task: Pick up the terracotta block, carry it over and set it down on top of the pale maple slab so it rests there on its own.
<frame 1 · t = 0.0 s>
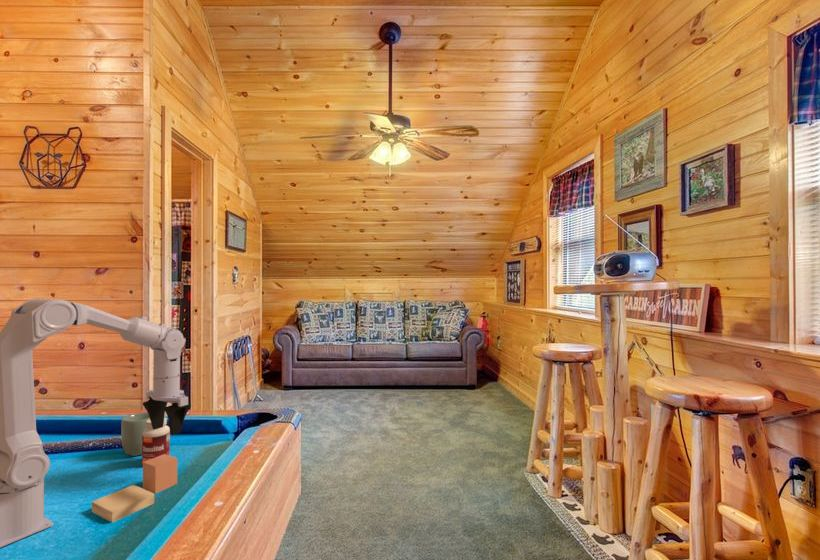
hand: (166, 430, 102), 10 cm above the table, tool pointing down, fingers open, 7 cm apart
cup: (138, 453, 113), on the table
terracotta block: (160, 486, 94), on the table
pill bottle: (156, 462, 107), on the table
maple slab: (123, 509, 85), on the table
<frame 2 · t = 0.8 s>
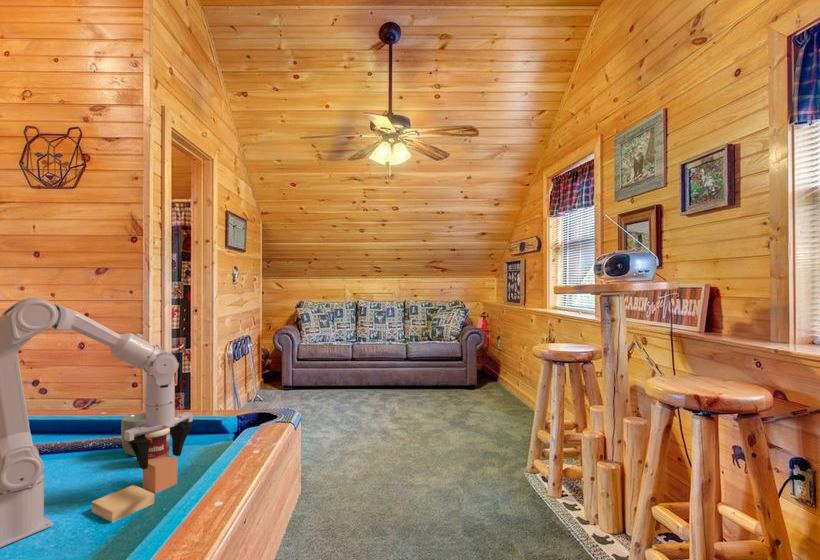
hand: (160, 461, 95), 6 cm above the table, tool pointing down, fingers open, 7 cm apart
nothing on the table moved.
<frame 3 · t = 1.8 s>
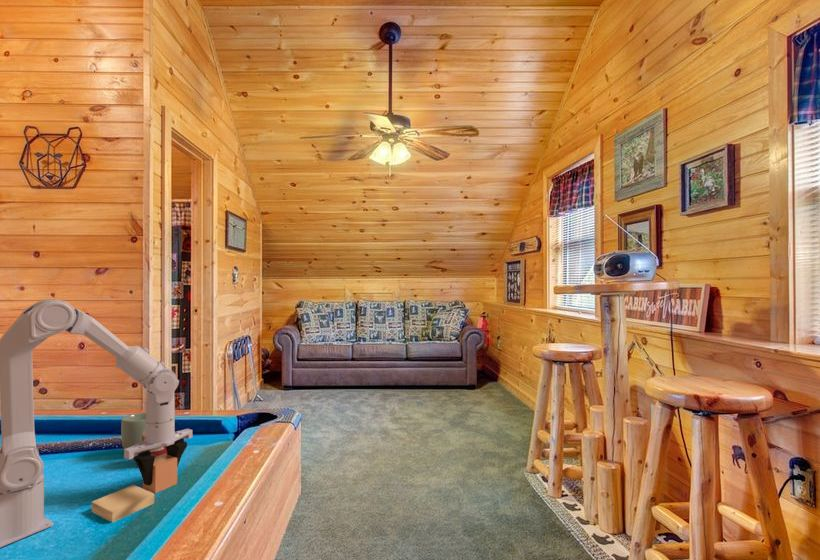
hand: (160, 478, 95), 2 cm above the table, tool pointing down, fingers closed on terracotta block, 5 cm apart
terracotta block: (160, 485, 94), on the table, touching gripper
everything else where it was.
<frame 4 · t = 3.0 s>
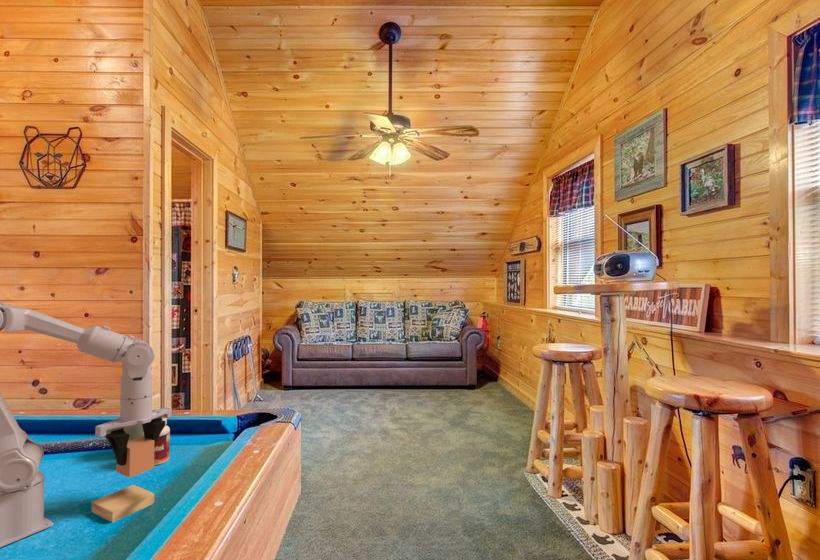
hand: (135, 459, 88), 9 cm above the table, tool pointing down, fingers closed on terracotta block, 5 cm apart
terracotta block: (135, 470, 88), point 6 cm above the table, touching gripper
everything else where it was.
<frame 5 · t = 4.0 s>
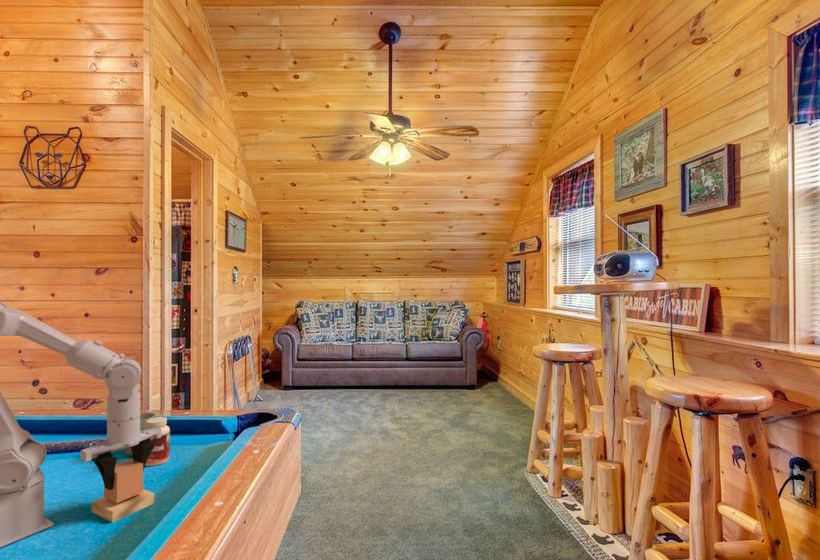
hand: (123, 482, 85), 5 cm above the table, tool pointing down, fingers closed on terracotta block, 5 cm apart
terracotta block: (123, 494, 85), point 3 cm above the table, touching gripper
everything else where it was.
when the fingers open (5 cm above the table, at t = 4.4 s): terracotta block stays where it is, resting on maple slab.
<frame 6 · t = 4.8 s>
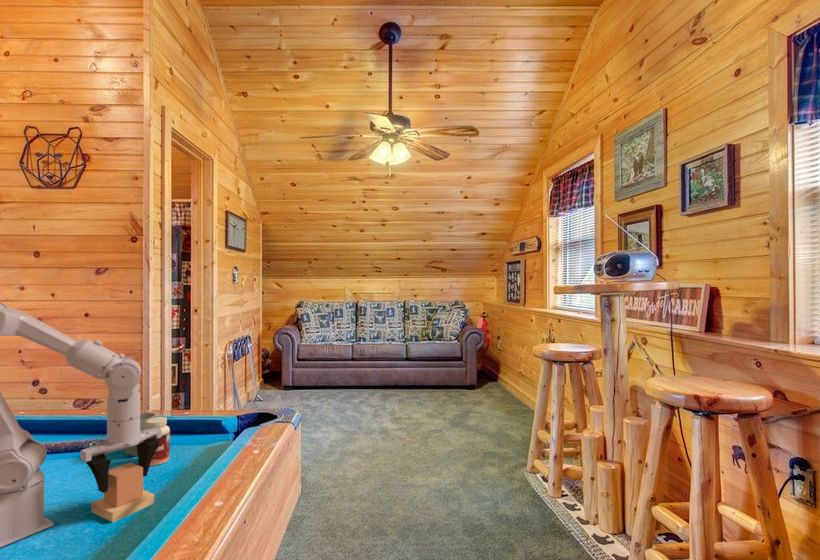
hand: (123, 482, 85), 5 cm above the table, tool pointing down, fingers open, 7 cm apart
terracotta block: (123, 498, 85), point 2 cm above the table, touching maple slab
maple slab: (123, 510, 85), on the table, touching terracotta block
everything else where it was.
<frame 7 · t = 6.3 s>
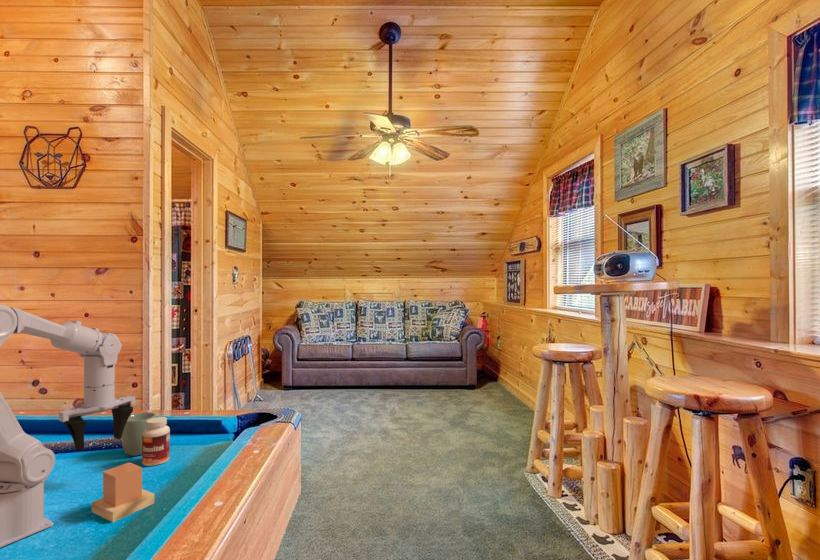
hand: (99, 443, 94), 10 cm above the table, tool pointing down, fingers open, 7 cm apart
nothing on the table moved.
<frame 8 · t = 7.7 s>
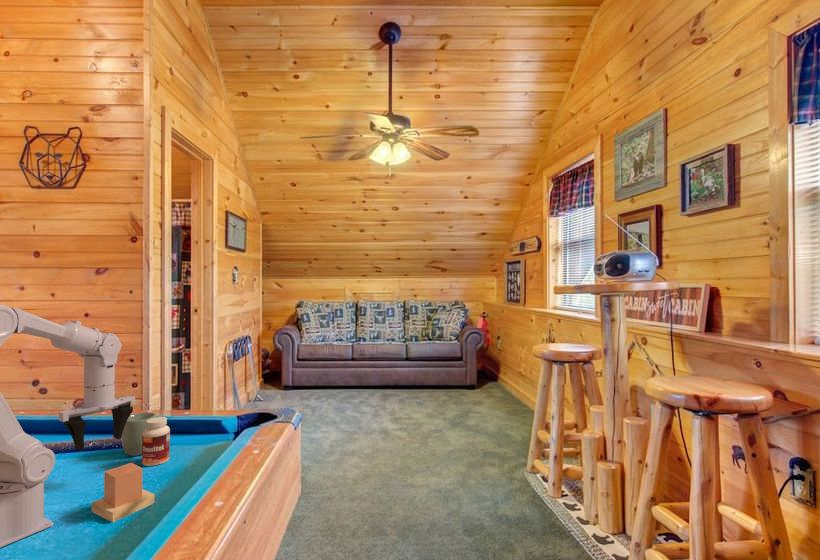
hand: (99, 443, 94), 10 cm above the table, tool pointing down, fingers open, 7 cm apart
nothing on the table moved.
at the end: terracotta block 0.1 cm off-centre on the maple slab, point 2.5 cm above the maple slab's base; terracotta block tilted 0°; the gripper is holding nothing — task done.
